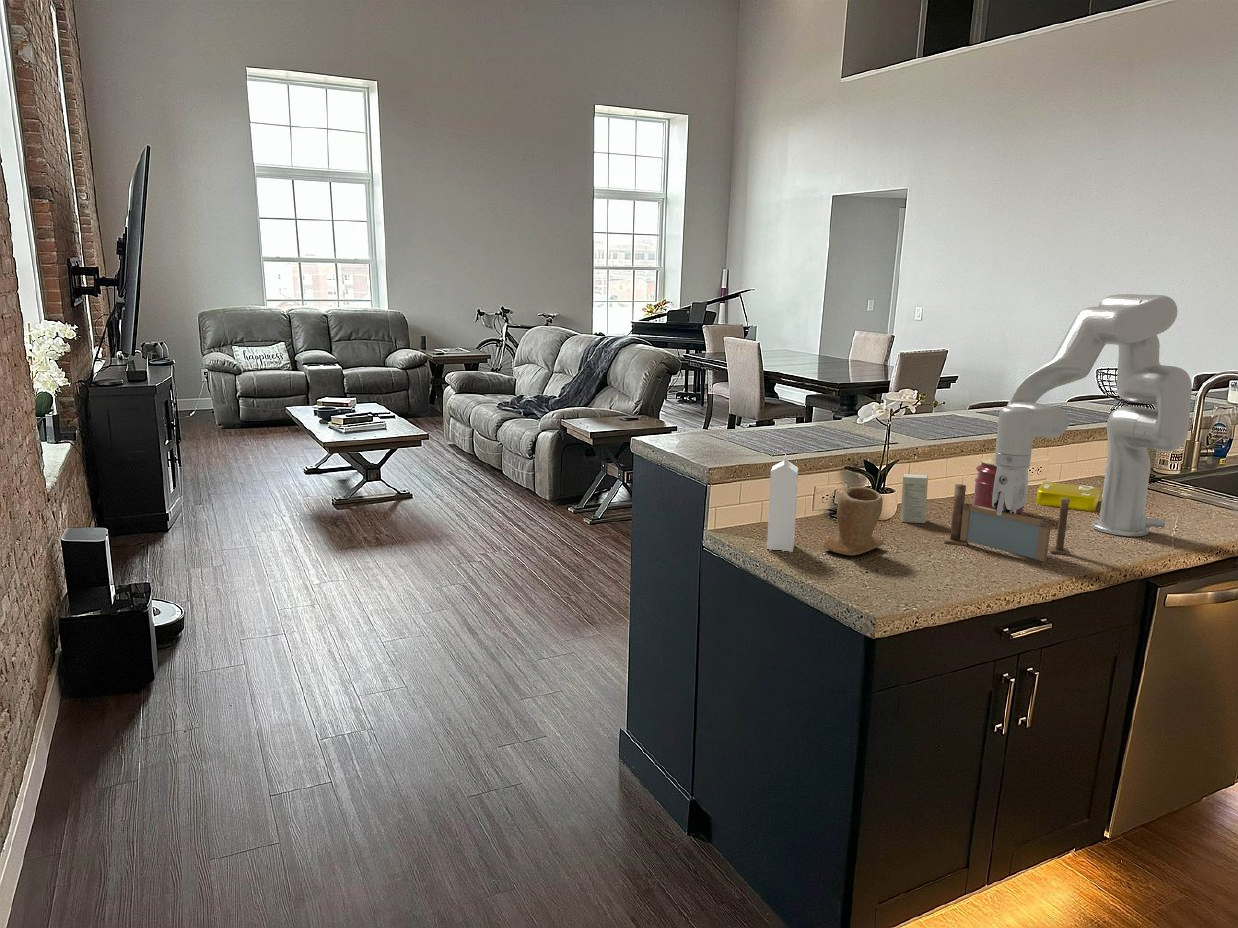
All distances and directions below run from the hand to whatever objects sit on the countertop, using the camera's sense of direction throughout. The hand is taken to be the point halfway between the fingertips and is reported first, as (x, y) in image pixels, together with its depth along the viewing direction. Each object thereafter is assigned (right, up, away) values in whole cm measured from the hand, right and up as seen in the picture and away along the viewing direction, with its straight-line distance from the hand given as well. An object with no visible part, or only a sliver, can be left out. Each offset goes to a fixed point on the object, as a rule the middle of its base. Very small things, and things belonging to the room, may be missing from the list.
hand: (1004, 536), depth 199 cm
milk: (-53, -3, 0) cm, 53 cm away
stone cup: (-35, -3, -2) cm, 36 cm away
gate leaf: (-2, -3, -3) cm, 5 cm away
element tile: (+38, +5, +45) cm, 59 cm away
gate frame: (+1, -3, +2) cm, 3 cm away
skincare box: (-13, +2, +24) cm, 27 cm away
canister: (+13, +4, +33) cm, 36 cm away
